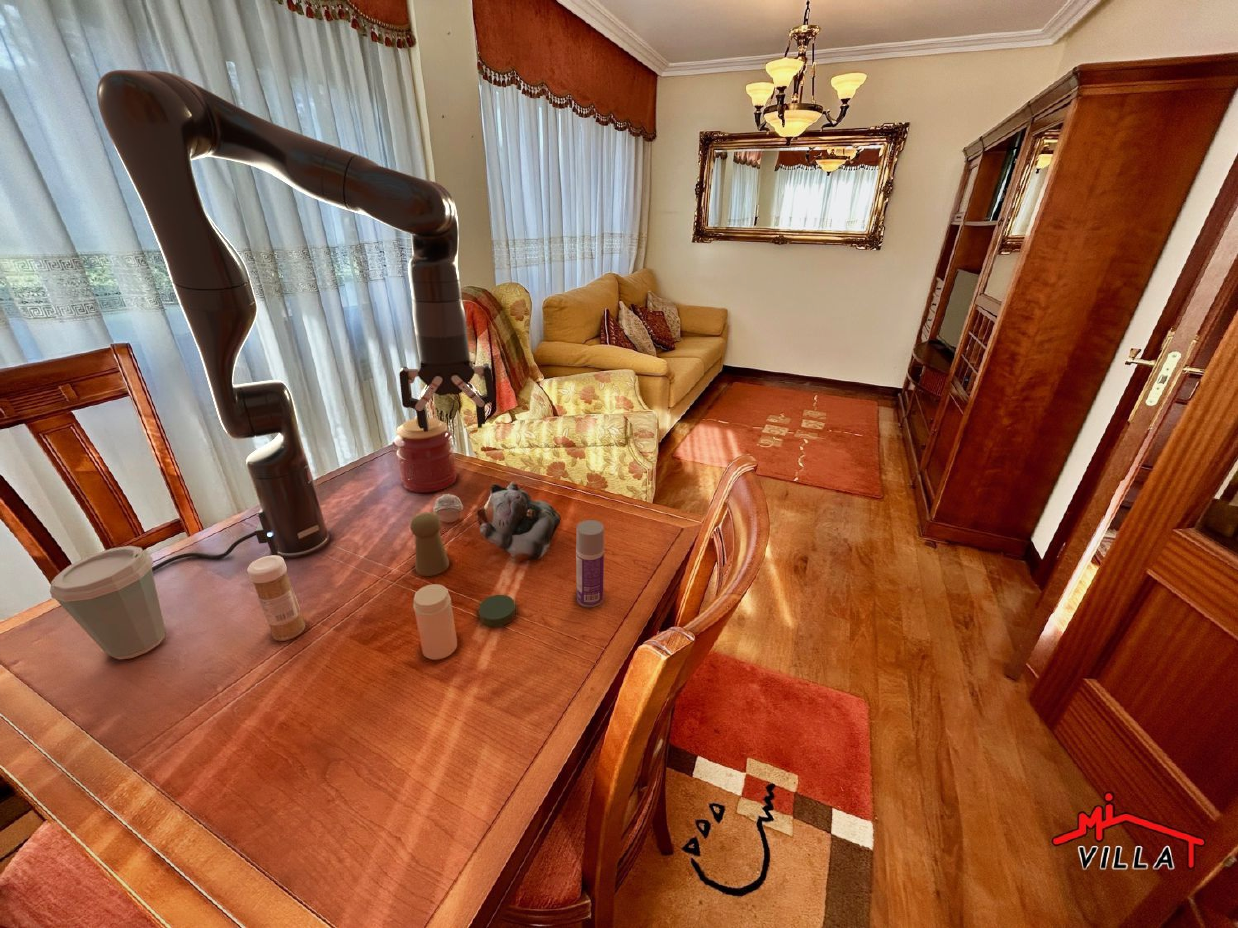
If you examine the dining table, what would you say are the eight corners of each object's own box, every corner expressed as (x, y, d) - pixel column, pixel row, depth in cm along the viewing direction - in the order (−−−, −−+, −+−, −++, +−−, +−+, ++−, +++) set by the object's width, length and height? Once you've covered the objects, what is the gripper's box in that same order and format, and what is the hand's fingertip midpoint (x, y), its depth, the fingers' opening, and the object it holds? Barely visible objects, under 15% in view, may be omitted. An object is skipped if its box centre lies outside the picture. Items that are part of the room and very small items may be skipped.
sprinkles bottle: (306, 617, 82) (284, 550, 76) (304, 636, 78) (281, 568, 72) (274, 626, 80) (248, 558, 74) (270, 646, 76) (243, 576, 70)
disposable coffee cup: (79, 681, 70) (25, 598, 63) (106, 629, 78) (61, 552, 72) (175, 655, 74) (134, 575, 68) (190, 609, 83) (156, 534, 76)
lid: (513, 599, 87) (513, 592, 87) (517, 623, 82) (516, 615, 82) (478, 605, 86) (477, 597, 85) (480, 630, 81) (479, 622, 80)
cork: (438, 578, 92) (430, 528, 87) (409, 572, 93) (399, 523, 88) (455, 558, 97) (448, 510, 92) (426, 553, 98) (418, 505, 93)
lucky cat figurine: (537, 570, 94) (495, 518, 88) (494, 570, 101) (452, 522, 95) (571, 514, 104) (536, 464, 98) (531, 518, 111) (495, 471, 105)
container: (607, 594, 89) (609, 523, 83) (595, 610, 85) (596, 538, 79) (584, 586, 91) (584, 516, 84) (571, 602, 87) (570, 530, 81)
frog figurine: (434, 531, 105) (429, 503, 102) (436, 514, 111) (432, 486, 108) (464, 528, 106) (460, 500, 103) (465, 511, 112) (461, 484, 109)
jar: (421, 662, 75) (410, 609, 70) (423, 637, 79) (413, 585, 74) (457, 655, 76) (449, 603, 71) (457, 631, 80) (449, 580, 76)
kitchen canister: (391, 490, 120) (377, 422, 112) (419, 466, 131) (409, 403, 123) (442, 496, 118) (432, 427, 110) (466, 471, 129) (458, 407, 121)
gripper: (387, 336, 71) (406, 440, 78) (490, 333, 75) (498, 433, 82) (393, 326, 78) (410, 423, 85) (488, 323, 81) (496, 417, 88)
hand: (453, 428), depth 83 cm, fingers open, 8 cm apart
